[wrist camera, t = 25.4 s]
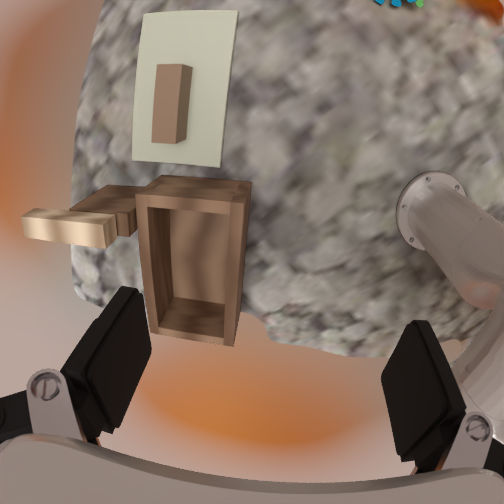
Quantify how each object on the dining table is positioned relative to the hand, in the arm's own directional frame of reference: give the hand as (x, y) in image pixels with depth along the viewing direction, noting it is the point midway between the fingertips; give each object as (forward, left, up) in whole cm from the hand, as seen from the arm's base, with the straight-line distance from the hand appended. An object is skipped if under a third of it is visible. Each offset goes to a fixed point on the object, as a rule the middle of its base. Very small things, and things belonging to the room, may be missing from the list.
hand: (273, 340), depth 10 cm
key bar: (+25, +8, -22) cm, 35 cm away
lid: (+14, -9, -34) cm, 38 cm away
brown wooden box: (+15, +15, -33) cm, 39 cm away
